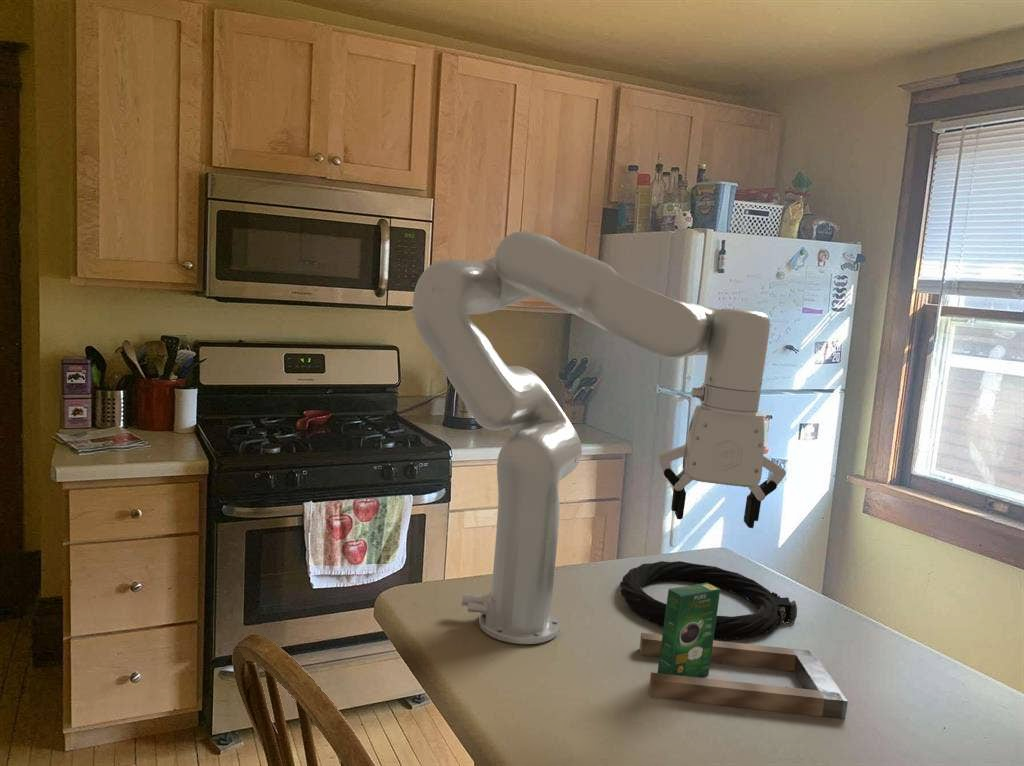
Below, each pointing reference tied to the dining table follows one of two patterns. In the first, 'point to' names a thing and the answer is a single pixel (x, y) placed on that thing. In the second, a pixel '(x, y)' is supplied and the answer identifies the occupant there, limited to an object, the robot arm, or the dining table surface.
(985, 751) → the dining table surface
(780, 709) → the frame
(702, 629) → the coffee box
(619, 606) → the dining table surface
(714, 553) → the dining table surface
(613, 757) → the dining table surface
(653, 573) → the cable lock
